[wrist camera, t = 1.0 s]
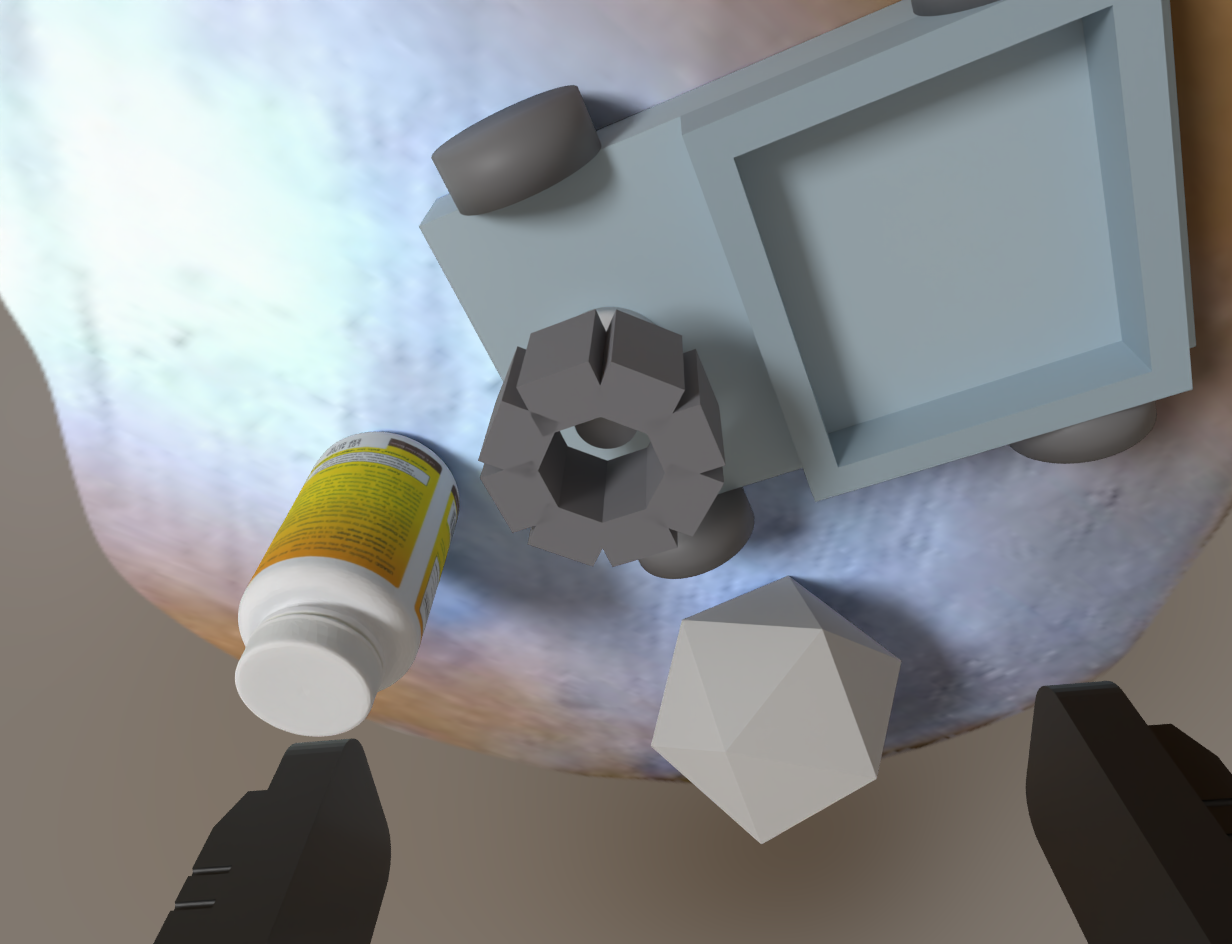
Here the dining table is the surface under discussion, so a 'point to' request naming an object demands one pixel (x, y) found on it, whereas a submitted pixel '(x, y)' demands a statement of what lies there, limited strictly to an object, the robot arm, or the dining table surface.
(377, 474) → the supplement bottle
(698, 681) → the die
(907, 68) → the chassis
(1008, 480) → the dining table surface
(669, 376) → the spare wheel
